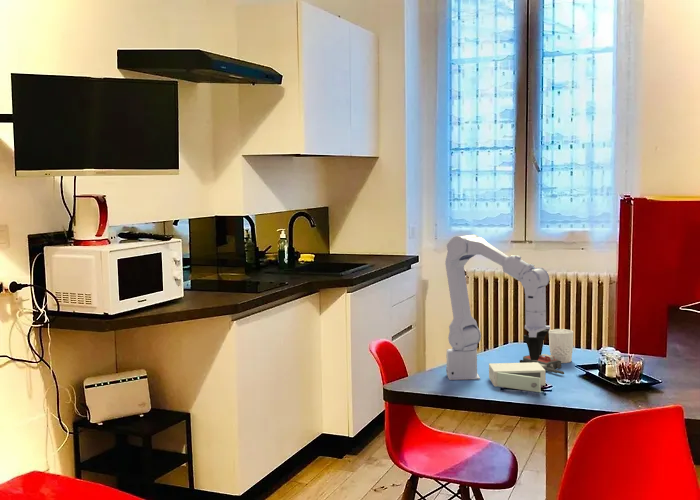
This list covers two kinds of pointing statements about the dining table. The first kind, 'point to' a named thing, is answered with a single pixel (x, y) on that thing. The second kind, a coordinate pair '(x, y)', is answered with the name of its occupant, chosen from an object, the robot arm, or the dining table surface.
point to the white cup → (561, 344)
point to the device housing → (517, 370)
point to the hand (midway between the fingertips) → (536, 357)
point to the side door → (519, 382)
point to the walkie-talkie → (545, 362)
